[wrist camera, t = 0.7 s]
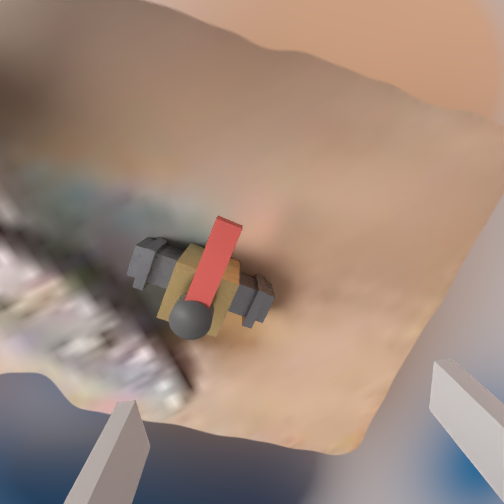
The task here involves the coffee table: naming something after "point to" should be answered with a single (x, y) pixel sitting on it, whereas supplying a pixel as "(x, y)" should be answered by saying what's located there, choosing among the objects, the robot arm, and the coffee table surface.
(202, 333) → the lever
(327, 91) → the coffee table surface
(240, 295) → the valve
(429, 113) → the coffee table surface
